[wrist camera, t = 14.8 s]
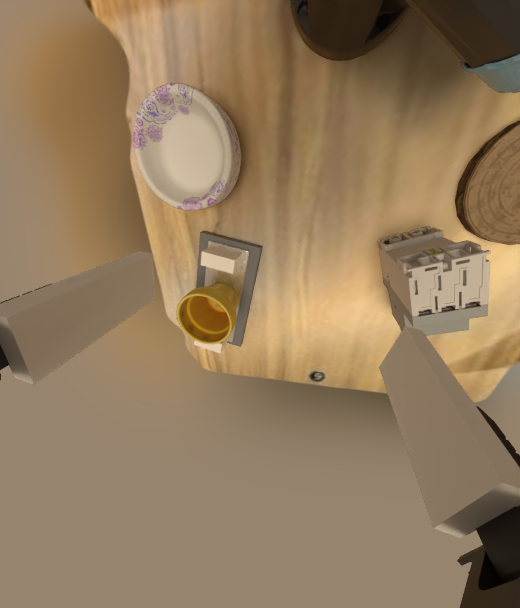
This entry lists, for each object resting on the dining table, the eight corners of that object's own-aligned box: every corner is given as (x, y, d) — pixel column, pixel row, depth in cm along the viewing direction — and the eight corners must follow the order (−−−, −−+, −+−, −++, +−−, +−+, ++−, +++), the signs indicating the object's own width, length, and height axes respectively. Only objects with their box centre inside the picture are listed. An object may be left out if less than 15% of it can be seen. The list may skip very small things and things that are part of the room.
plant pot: (246, 276, 45) (230, 297, 37) (247, 321, 50) (232, 349, 41) (197, 271, 47) (171, 290, 39) (202, 315, 52) (180, 341, 43)
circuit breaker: (387, 311, 44) (417, 364, 31) (377, 239, 39) (407, 267, 26) (433, 304, 42) (485, 357, 29) (429, 225, 37) (490, 248, 24)
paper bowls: (212, 224, 44) (193, 232, 37) (148, 163, 42) (115, 159, 35) (265, 153, 37) (254, 146, 30) (192, 74, 34) (161, 46, 28)
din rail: (209, 240, 44) (208, 240, 43) (249, 250, 43) (248, 251, 43) (201, 331, 55) (200, 332, 54) (233, 341, 54) (232, 342, 54)
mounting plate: (203, 230, 45) (200, 232, 44) (262, 246, 44) (260, 248, 43) (196, 328, 57) (193, 332, 55) (242, 343, 56) (240, 346, 54)
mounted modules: (213, 244, 44) (201, 251, 39) (243, 252, 43) (234, 260, 39) (204, 332, 54) (194, 345, 50) (228, 339, 53) (220, 353, 49)
